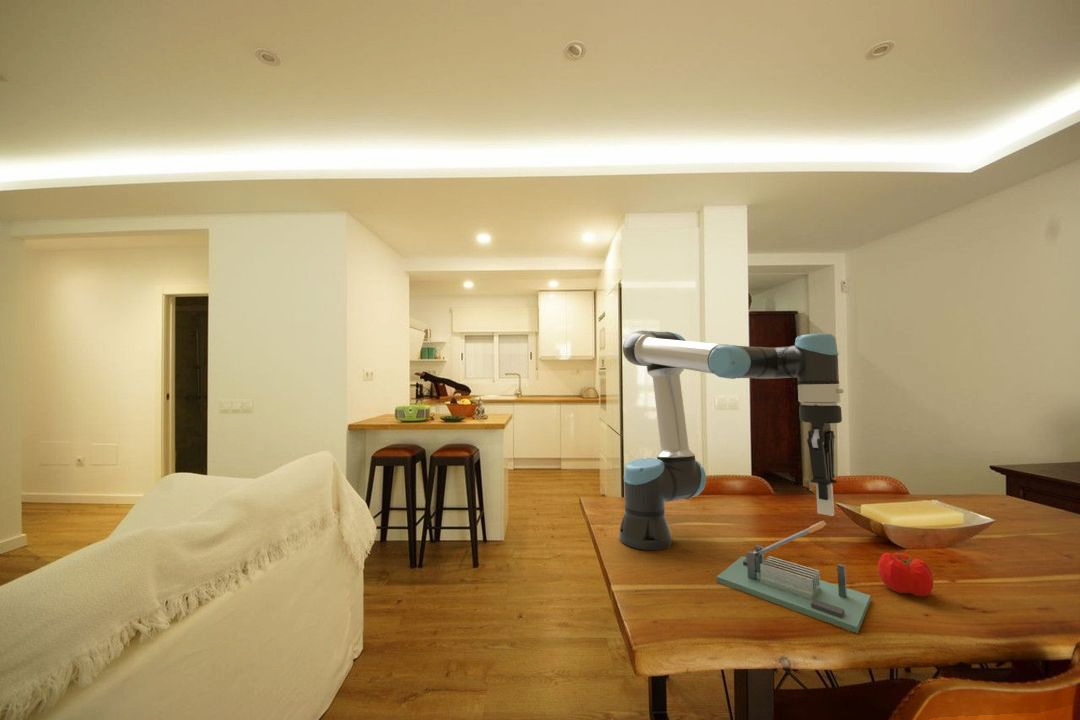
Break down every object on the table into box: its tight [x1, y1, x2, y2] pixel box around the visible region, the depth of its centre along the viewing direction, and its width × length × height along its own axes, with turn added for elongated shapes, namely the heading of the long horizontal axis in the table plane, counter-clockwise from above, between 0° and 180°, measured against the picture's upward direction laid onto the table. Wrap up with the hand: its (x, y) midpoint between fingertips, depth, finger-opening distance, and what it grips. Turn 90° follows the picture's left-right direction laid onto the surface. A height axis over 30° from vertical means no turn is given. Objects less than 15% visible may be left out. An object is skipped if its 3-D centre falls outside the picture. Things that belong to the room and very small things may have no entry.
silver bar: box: [746, 544, 848, 600], centre depth 87 cm, size 17×8×6 cm, turn 43°
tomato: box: [877, 552, 934, 597], centre depth 87 cm, size 9×9×8 cm
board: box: [716, 555, 872, 634], centre depth 87 cm, size 26×16×2 cm, turn 43°
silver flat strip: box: [753, 520, 827, 559], centre depth 88 cm, size 18×3×1 cm
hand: (825, 513), depth 83 cm, fingers closed
